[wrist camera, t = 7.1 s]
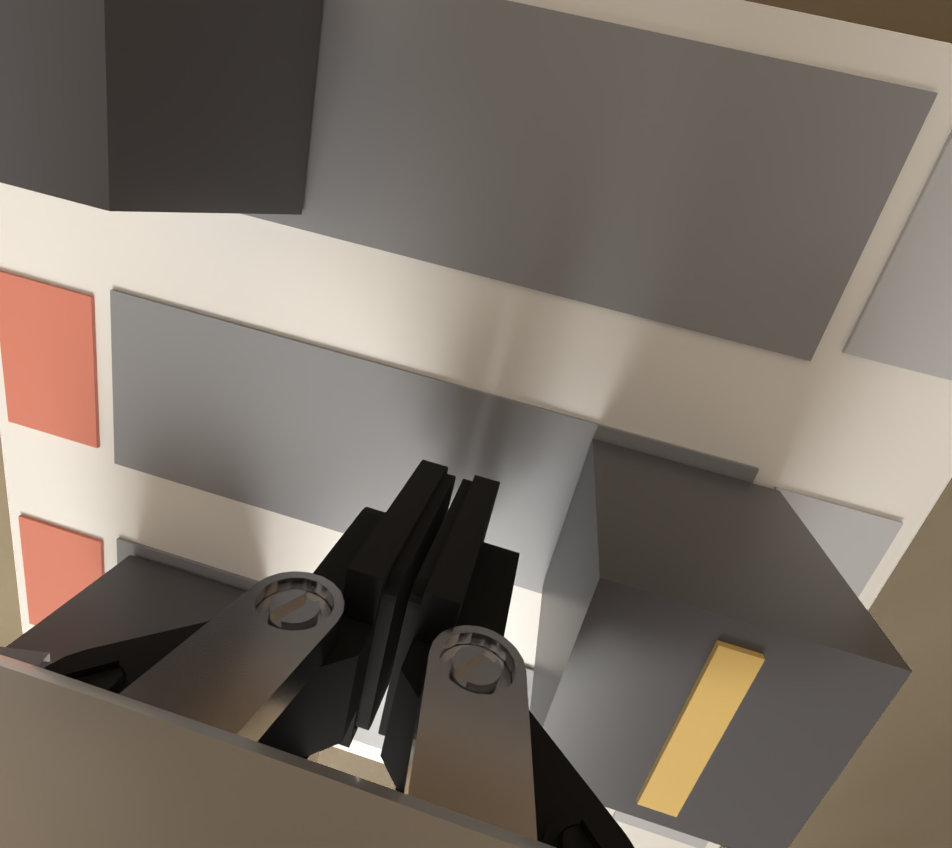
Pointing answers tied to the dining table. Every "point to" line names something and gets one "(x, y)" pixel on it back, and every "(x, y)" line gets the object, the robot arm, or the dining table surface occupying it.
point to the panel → (453, 283)
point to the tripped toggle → (703, 652)
